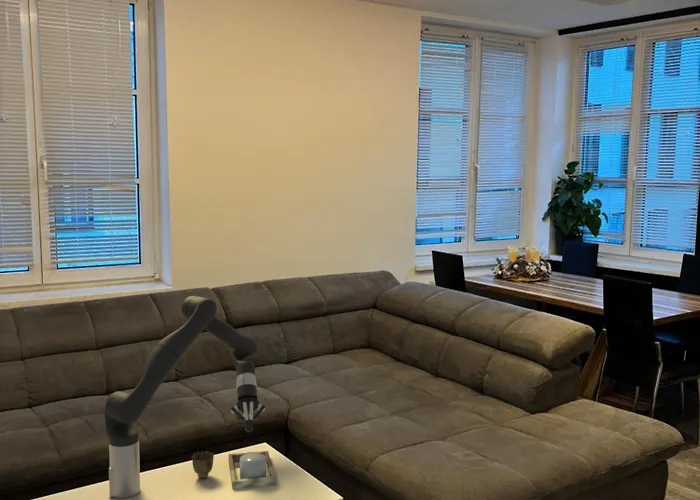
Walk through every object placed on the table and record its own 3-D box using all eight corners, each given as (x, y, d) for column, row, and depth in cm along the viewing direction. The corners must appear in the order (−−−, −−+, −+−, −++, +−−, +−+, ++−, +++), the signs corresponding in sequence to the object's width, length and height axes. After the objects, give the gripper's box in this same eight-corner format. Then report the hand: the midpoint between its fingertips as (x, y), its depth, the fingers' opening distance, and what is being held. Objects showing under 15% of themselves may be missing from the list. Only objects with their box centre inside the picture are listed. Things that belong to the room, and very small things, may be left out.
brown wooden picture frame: (232, 488, 224) (232, 481, 224) (228, 460, 246) (228, 454, 246) (275, 484, 227) (275, 477, 227) (268, 457, 250) (267, 450, 249)
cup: (208, 483, 228) (208, 460, 227) (188, 480, 230) (188, 458, 229) (217, 473, 236) (217, 451, 235) (197, 471, 237) (197, 449, 236)
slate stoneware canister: (243, 486, 226) (243, 465, 225) (237, 475, 234) (237, 455, 233) (269, 482, 229) (269, 461, 228) (262, 471, 238) (262, 451, 237)
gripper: (229, 384, 249) (231, 428, 238) (265, 382, 252) (268, 425, 241) (228, 393, 255) (230, 437, 244) (263, 391, 258) (267, 434, 247)
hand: (249, 431), depth 243 cm, fingers closed
